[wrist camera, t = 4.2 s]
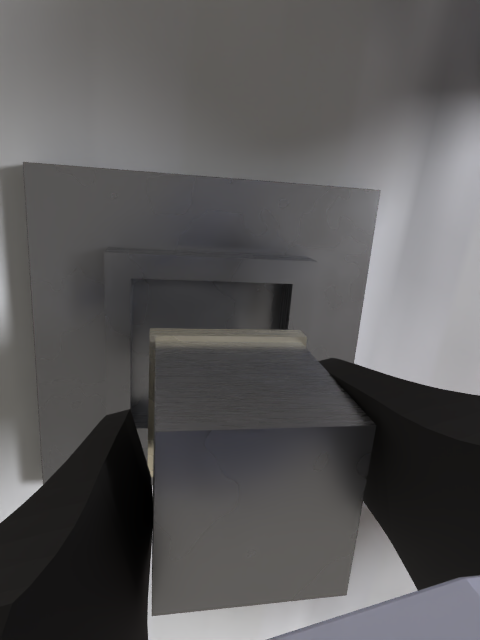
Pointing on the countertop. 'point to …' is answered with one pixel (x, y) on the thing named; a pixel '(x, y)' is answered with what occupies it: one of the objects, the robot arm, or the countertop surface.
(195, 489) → the brushed metal block
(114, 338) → the stand base
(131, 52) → the countertop surface
